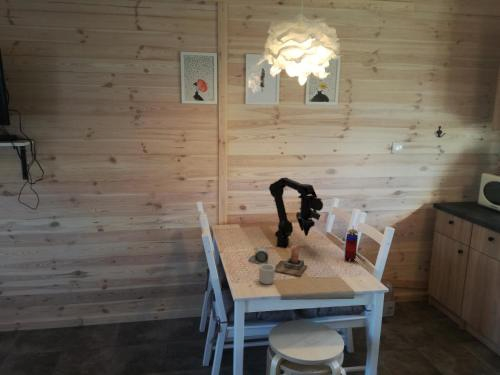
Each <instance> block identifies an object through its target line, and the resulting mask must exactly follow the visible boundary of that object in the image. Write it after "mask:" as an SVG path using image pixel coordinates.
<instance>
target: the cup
mask: <svg viewBox="0 0 500 375" xmlns="http://www.w3.org/2000/svg"><path fill="white" fill-rule="evenodd" d="M275 266H276V265H273V264H272V263H264V264H259V266H258V275H259V281H260V283H261V284H263V285H271V284H273V282H274V278H275V273H276V272H275Z"/></svg>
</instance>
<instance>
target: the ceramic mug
mask: <svg viewBox="0 0 500 375" xmlns="http://www.w3.org/2000/svg"><path fill="white" fill-rule="evenodd" d="M248 260H249V262H256V263H257V264H259V265H261V264H267V262H268V261H269V251H268V250H267V248H266V247H263V246H259V247H258V248H256V249H255V252H254V254H253V255H251V256H250V257H248Z"/></svg>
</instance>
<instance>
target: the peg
mask: <svg viewBox="0 0 500 375" xmlns="http://www.w3.org/2000/svg"><path fill="white" fill-rule="evenodd" d="M290 250H291V252H290V258H291V264H296V265H298V260H299V255H300V246H299V245H295V244H294V245H291V249H290Z"/></svg>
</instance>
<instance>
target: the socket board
mask: <svg viewBox="0 0 500 375" xmlns="http://www.w3.org/2000/svg"><path fill="white" fill-rule="evenodd" d="M274 266H275V273H277V274H283V275H287V276H292V277H298V278H301V277H302V275H303V274H304V273H305V271H306V269H308V265H307V264H305V260H303V259H298V265H296V264H291V257H288V259H286V261H285V260H280V261H279V262H278V263H276V265H274Z"/></svg>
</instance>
